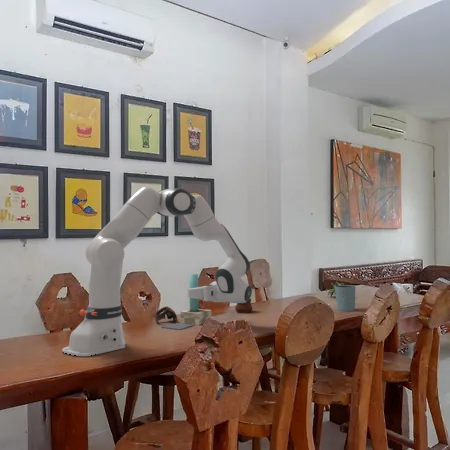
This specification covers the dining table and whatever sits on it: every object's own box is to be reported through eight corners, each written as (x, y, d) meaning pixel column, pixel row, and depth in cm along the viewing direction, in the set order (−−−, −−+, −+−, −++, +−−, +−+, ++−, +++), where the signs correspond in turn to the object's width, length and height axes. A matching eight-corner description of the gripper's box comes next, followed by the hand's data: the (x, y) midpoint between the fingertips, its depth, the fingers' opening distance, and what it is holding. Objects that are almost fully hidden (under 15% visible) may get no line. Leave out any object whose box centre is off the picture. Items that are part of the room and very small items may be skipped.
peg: (195, 315, 201) (194, 275, 202) (188, 314, 204) (187, 274, 204) (200, 314, 205) (199, 274, 205) (193, 313, 207) (192, 274, 207)
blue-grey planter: (355, 312, 221) (354, 287, 221) (334, 311, 224) (333, 287, 224) (356, 308, 231) (355, 285, 231) (336, 307, 234) (335, 284, 234)
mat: (179, 330, 187) (179, 329, 187) (161, 327, 193) (161, 326, 193) (194, 325, 196) (194, 324, 196) (176, 323, 201) (176, 322, 201)
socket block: (198, 325, 197) (198, 313, 197) (180, 322, 202) (180, 311, 202) (211, 321, 205) (211, 310, 205) (194, 319, 211) (194, 308, 211)
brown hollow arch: (178, 325, 199) (169, 310, 198) (160, 334, 200) (150, 319, 199) (181, 313, 211) (172, 299, 209) (164, 322, 212) (155, 308, 210)
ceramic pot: (262, 309, 235) (261, 295, 235) (261, 315, 218) (260, 301, 218) (227, 309, 237) (227, 296, 237) (224, 316, 219) (223, 302, 219)
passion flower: (343, 306, 270) (354, 290, 266) (332, 305, 263) (343, 289, 259) (332, 294, 278) (342, 278, 274) (320, 292, 271) (331, 276, 267)
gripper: (230, 282, 206) (205, 280, 214) (204, 286, 189) (178, 285, 197) (230, 295, 206) (205, 294, 214) (204, 301, 189) (178, 299, 196)
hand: (192, 289), depth 205 cm, fingers closed on peg, 4 cm apart
